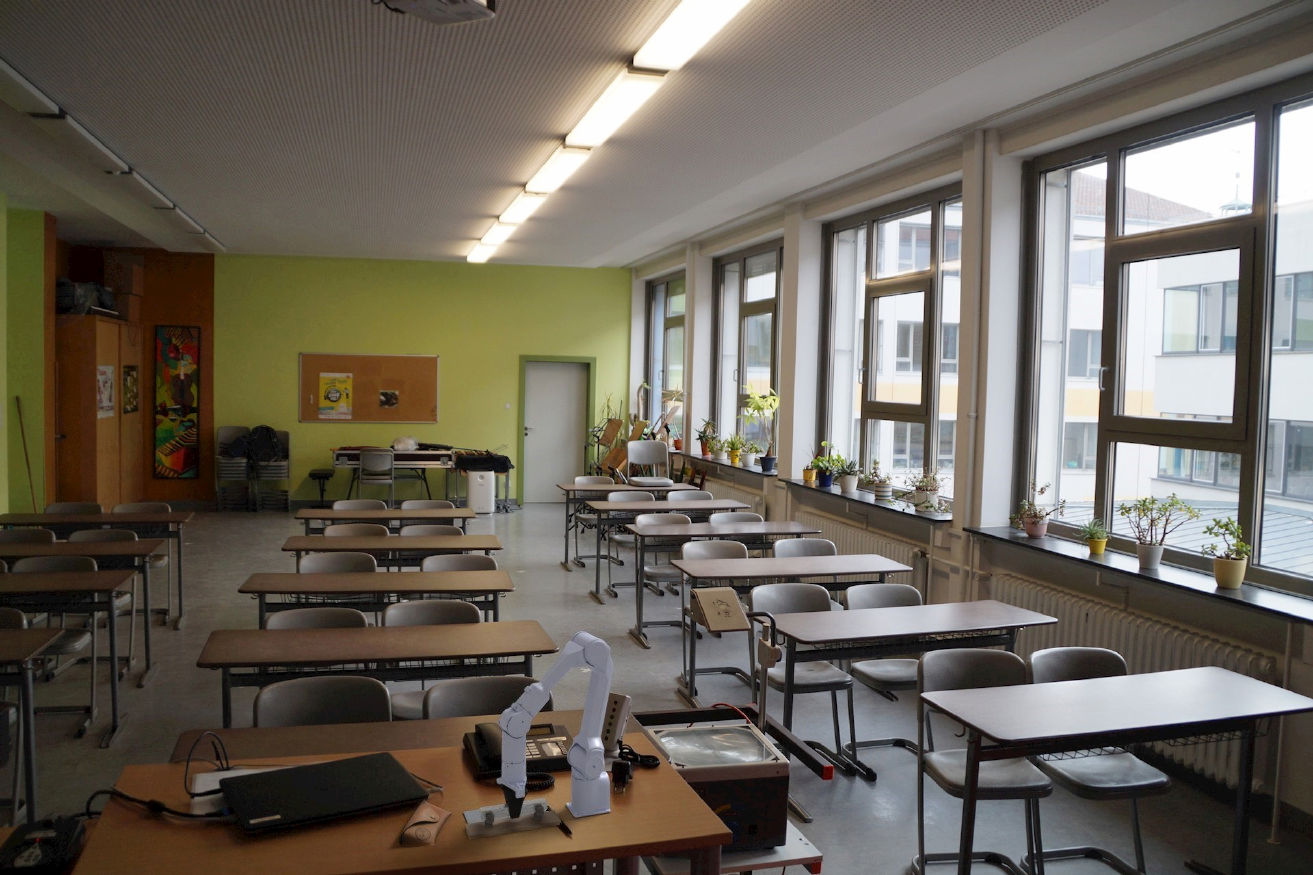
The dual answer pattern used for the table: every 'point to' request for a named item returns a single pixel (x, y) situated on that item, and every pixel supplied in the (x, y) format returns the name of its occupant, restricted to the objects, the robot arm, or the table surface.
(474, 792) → the table surface
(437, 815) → the sunglasses case
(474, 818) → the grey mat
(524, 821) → the hook rack
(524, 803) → the rail
